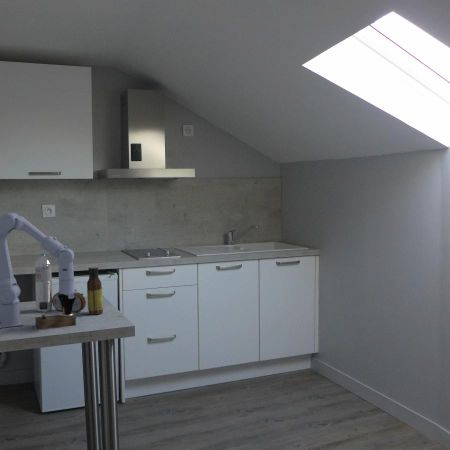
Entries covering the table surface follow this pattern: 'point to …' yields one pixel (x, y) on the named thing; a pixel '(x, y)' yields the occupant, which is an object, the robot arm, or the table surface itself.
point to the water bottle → (43, 281)
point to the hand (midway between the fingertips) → (67, 313)
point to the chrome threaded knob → (43, 308)
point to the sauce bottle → (94, 292)
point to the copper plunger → (65, 314)
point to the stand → (54, 321)
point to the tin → (77, 304)
